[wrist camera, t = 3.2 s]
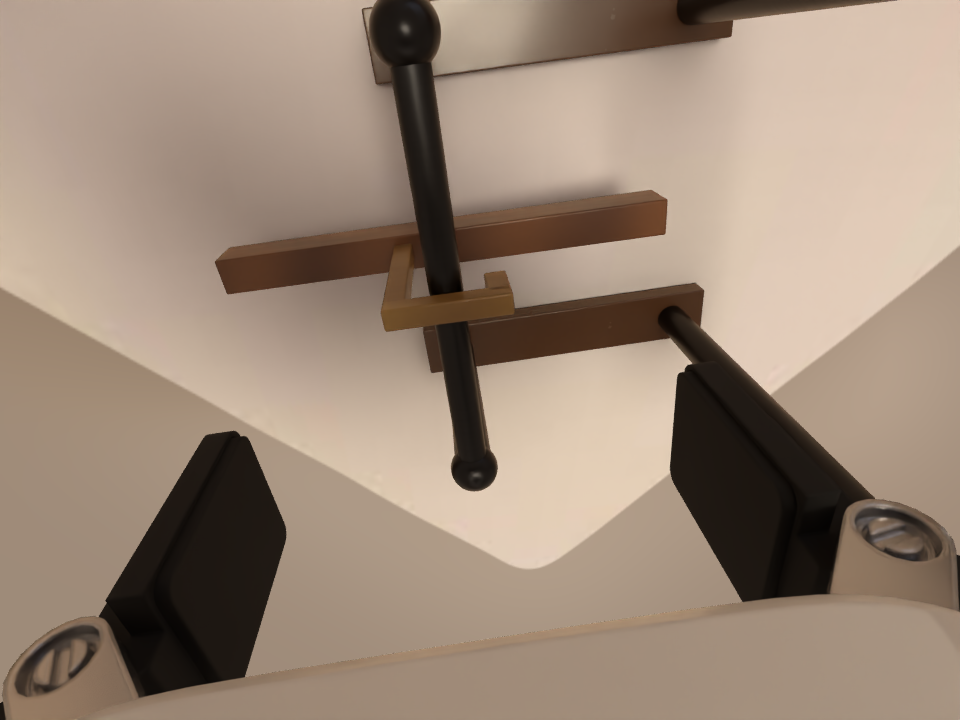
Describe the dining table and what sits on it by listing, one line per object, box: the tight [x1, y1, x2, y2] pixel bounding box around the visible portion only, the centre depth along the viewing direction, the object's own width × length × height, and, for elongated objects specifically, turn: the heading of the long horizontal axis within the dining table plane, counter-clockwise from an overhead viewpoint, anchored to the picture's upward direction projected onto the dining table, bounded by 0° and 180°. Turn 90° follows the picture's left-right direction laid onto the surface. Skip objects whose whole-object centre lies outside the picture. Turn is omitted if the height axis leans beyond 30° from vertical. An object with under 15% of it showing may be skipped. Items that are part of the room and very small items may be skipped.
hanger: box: [215, 190, 667, 332], centre depth 21 cm, size 20×2×9 cm, turn 97°
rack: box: [362, 0, 895, 502], centre depth 19 cm, size 17×19×23 cm
